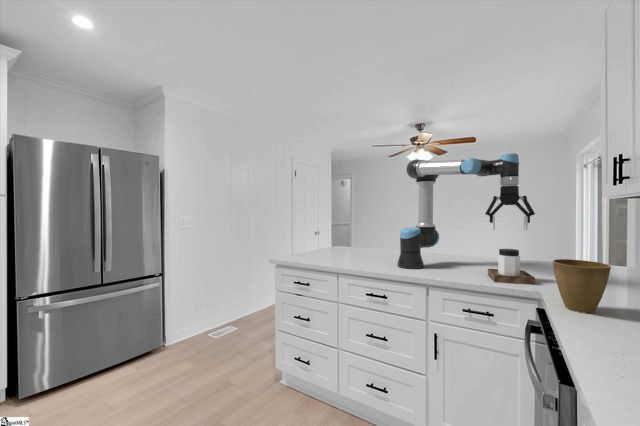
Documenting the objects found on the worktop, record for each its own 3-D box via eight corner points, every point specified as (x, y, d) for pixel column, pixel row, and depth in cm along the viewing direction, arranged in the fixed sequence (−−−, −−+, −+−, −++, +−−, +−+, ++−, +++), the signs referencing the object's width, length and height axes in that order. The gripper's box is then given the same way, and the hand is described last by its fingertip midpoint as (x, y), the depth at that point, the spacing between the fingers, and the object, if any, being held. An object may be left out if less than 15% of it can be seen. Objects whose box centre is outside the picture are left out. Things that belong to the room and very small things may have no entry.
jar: (513, 277, 139) (513, 251, 139) (495, 274, 146) (495, 249, 146) (522, 274, 144) (522, 249, 144) (504, 271, 151) (504, 248, 151)
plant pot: (549, 310, 101) (549, 263, 101) (556, 300, 112) (556, 257, 111) (610, 321, 91) (610, 268, 90) (611, 309, 101) (611, 262, 101)
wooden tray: (494, 282, 140) (494, 275, 140) (487, 275, 155) (487, 268, 155) (535, 284, 135) (535, 277, 135) (523, 277, 150) (523, 270, 150)
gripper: (481, 186, 145) (481, 229, 145) (542, 184, 137) (542, 230, 137) (479, 187, 152) (479, 228, 152) (537, 185, 144) (536, 229, 144)
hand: (509, 229), depth 145 cm, fingers open, 13 cm apart
